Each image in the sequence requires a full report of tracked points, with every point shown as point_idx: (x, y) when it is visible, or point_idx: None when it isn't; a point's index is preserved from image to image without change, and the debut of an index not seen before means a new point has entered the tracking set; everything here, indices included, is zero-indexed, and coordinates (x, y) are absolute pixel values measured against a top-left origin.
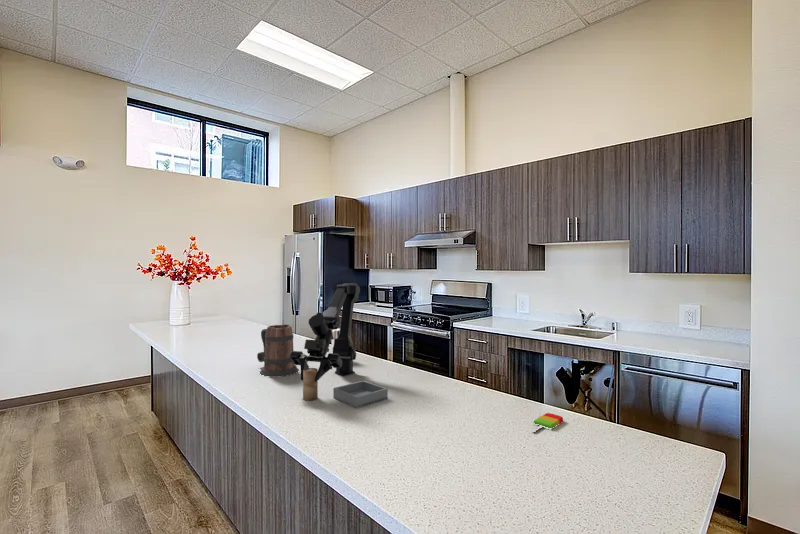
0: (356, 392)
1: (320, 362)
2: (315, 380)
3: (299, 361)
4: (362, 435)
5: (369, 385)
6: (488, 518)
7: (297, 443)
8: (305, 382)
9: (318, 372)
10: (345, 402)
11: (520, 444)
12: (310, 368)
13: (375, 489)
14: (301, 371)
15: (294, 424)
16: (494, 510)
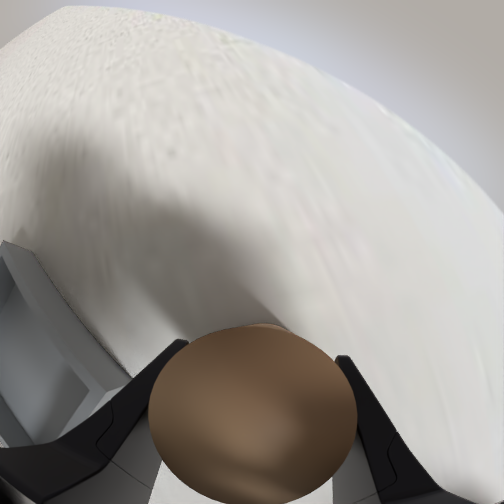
0: (56, 428)
1: (70, 482)
2: (181, 339)
3: (467, 500)
4: (49, 89)
5: (9, 437)
6: (15, 39)
7: (179, 20)
8: (284, 329)
9: (136, 392)
10: (67, 306)
11: None
12: (274, 486)
13: (74, 13)
14: (378, 416)
15: (219, 71)
16: (7, 48)
